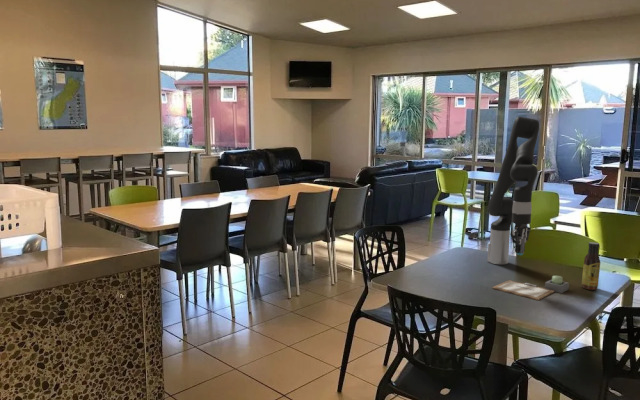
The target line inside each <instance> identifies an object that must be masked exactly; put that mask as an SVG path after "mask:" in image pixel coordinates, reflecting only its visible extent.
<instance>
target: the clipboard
mask: <svg viewBox="0 0 640 400" xmlns="http://www.w3.org/2000/svg"><path fill="white" fill-rule="evenodd" d="M491 289H492V290H497V291H500V292H504V293H509V294H512V295H516V296H520V297H524V298H528V299H531V300H536V301H540V300H542V299H544V298H546V297H547V296H550V295H551V294H553V293H555V291H553V290H549V289H545V287H539V286H538V285H537V284H533V283H528V282H525V283H524V282H519V281H515V280H510V279H508V280H506V281H504V282H502V283H501V282H500V283H499V284H497V285H494V286H492V287H491Z"/></svg>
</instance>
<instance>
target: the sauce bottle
mask: <svg viewBox="0 0 640 400" xmlns="http://www.w3.org/2000/svg"><path fill="white" fill-rule="evenodd" d="M599 248H600V243H598V242H593V241H592V242H591V241H589V242H588V249H587V250H588V251H587V254H586V255H585V256H584V261H583V268H582V276H581V277H582V278H581V288H583V289H585V290H590V291H595V290H597V289H598V286H599V279H600V269H601V260H600V256H599Z"/></svg>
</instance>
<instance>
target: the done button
mask: <svg viewBox="0 0 640 400" xmlns="http://www.w3.org/2000/svg"><path fill="white" fill-rule="evenodd" d="M563 278H564V277H563V276H561V275H552V276H551V279H552V283H554V284H558V285H561V284H562V281H564V280H563Z"/></svg>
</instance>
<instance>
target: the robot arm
mask: <svg viewBox="0 0 640 400" xmlns="http://www.w3.org/2000/svg"><path fill="white" fill-rule="evenodd" d="M539 131H540V121H539V119H535V118H530V117H523V116H517V117H516V118H515V119H514V121H513V124H512V127H511V132H510V137H509V141H508V146H507V149H506V151H505V155H504V157H503V161H502V164H501V167H500V171H499V174H498V177H497V181H496V183H495V187H494V190H493V192H492V194H491V196H490V198H489V202H488V205H487V208H488V209H487V211H488V213H489V214H490V216H492V217H498V218H497V219H496V220H495V221H492V222H491V223H490V234H489V235H490V237H489V242H488V245H487V258H486V259H487V261H486V262H488V263H491V264H492V265H501V266H502V265H508V264H509V258H510V257H509V255H510V240H511V243H512V244H514V252H515V254H517V253H520V252H521V240H522V239H523V235H524V236H525V242H524V252H525V248H526V242H528V241H529V236H530V232H531V226H528V225H529V224H531V223H532V210H533V209H532V207H533V206H532V194H533V189H534V185H535V181H536V179H537V176H538V174H539V173H538V172H539V171H538V168H537V166H536V165H534V160H535V159H534V157H535V155H534V154H535V148H536V144H537V141H538V136H539ZM518 138H522V139H527V140H526V141H524V142H522V144H520V145H519V146H518ZM516 182H527V183H526V184H525V185H523V186H517V187H515V188H514V190H513V198H512V199H513V200H512V199H511V197H508V196H505V195H506V193H507V192H508V191H509V189H511V187H513V185H514V184H516ZM512 223H513V224H514V228H513V230H511V226H512ZM518 236H521V237H518ZM510 238H511V239H510Z"/></svg>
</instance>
